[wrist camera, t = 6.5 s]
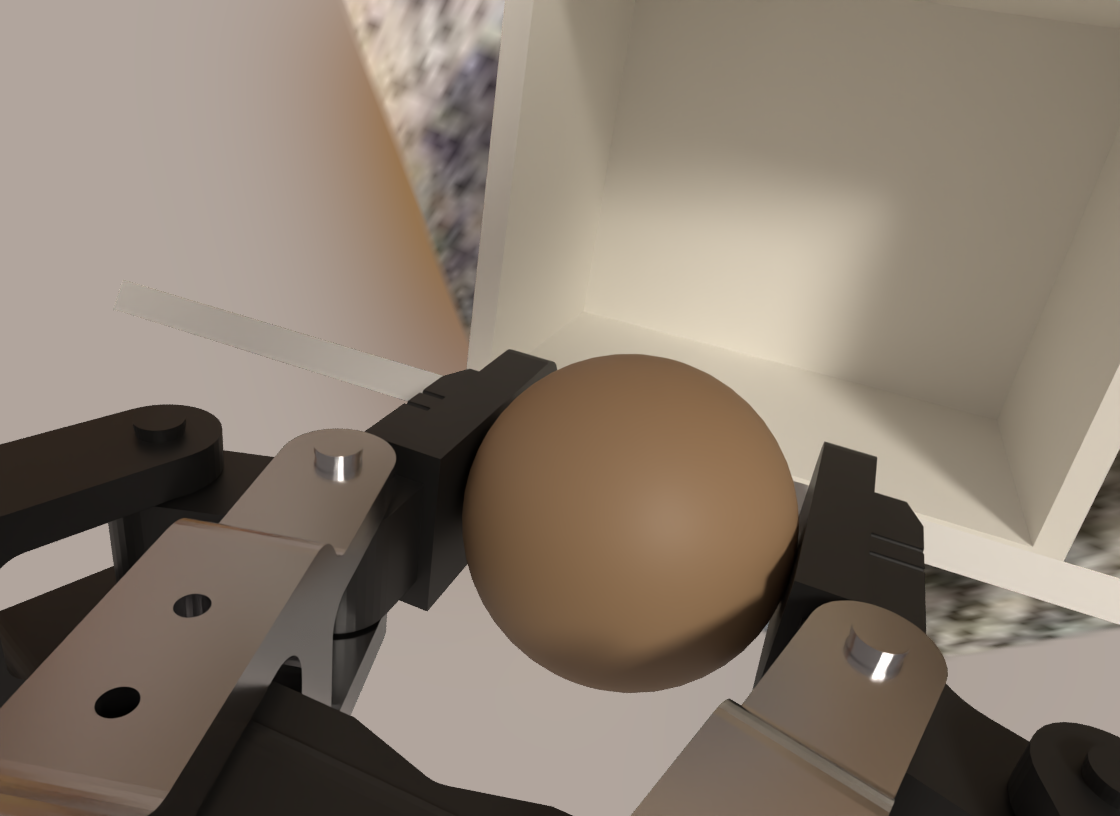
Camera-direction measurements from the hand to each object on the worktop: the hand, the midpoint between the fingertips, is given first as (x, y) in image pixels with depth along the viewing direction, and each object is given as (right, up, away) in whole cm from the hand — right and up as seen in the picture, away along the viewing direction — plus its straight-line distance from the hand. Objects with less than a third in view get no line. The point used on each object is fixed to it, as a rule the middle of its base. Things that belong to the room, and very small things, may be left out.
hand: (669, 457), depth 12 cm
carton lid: (+2, 0, +7) cm, 7 cm away
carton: (+10, +10, +25) cm, 29 cm away
